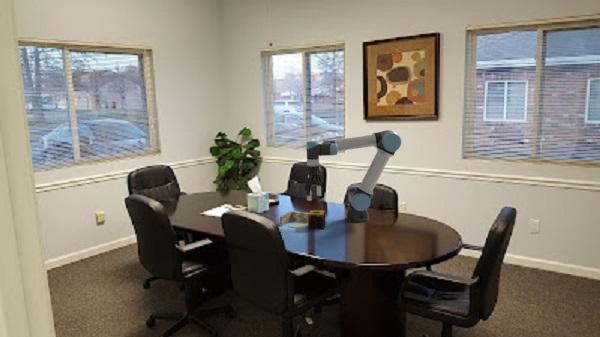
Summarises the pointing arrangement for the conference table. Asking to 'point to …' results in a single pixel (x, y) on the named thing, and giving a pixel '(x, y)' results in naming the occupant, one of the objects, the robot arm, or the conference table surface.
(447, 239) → the conference table surface
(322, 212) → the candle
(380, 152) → the robot arm
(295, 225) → the pad
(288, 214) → the arena
